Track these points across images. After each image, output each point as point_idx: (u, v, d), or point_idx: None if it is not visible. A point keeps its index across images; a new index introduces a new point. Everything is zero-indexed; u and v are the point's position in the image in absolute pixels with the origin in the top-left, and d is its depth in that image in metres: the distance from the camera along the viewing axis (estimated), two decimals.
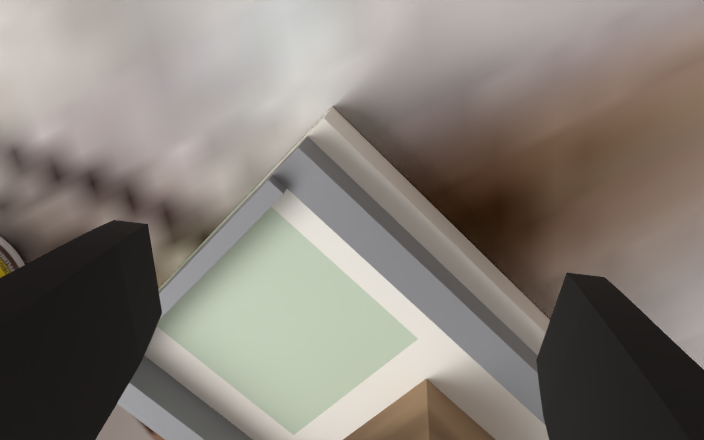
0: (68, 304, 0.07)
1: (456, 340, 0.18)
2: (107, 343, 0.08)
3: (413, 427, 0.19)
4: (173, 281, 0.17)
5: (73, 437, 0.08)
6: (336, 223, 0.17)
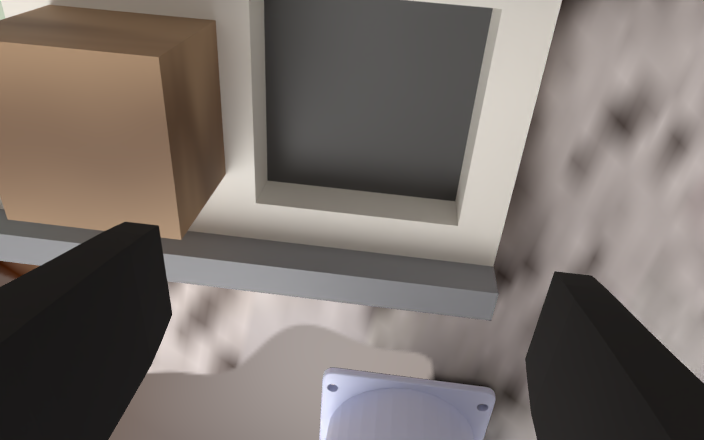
0: (82, 306, 0.07)
1: None
2: (119, 344, 0.08)
3: None
4: None
5: (86, 439, 0.08)
6: None
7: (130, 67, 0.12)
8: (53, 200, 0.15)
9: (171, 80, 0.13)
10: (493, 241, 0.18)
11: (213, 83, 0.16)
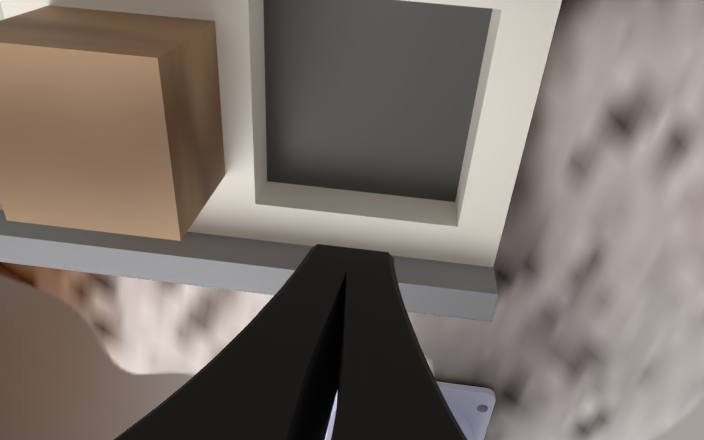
0: (326, 336, 0.07)
1: None
2: (331, 372, 0.08)
3: None
4: None
5: None
6: None
7: (128, 68, 0.12)
8: (52, 201, 0.15)
9: (170, 80, 0.13)
10: (493, 242, 0.18)
11: (212, 84, 0.16)
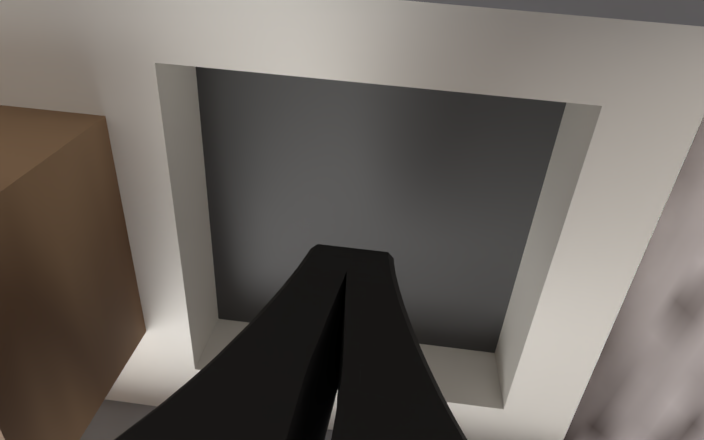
0: (326, 336, 0.07)
1: None
2: (331, 372, 0.08)
3: None
4: None
5: None
6: None
7: None
8: None
9: None
10: (557, 430, 0.12)
11: (106, 217, 0.10)
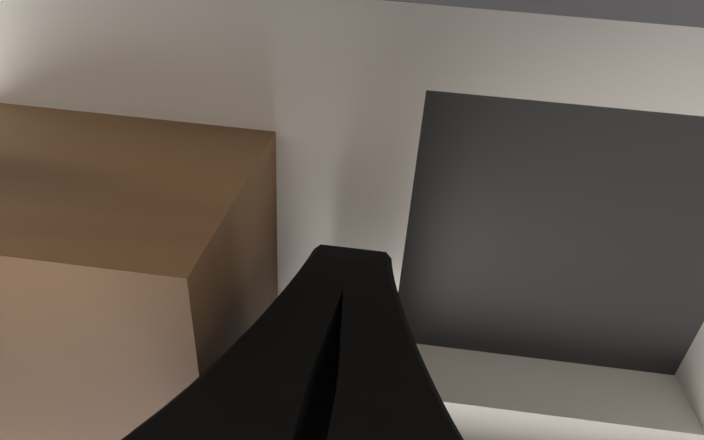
0: (331, 337, 0.07)
1: None
2: (335, 372, 0.08)
3: None
4: None
5: None
6: None
7: (125, 292, 0.06)
8: None
9: (209, 297, 0.06)
10: None
11: (269, 234, 0.09)
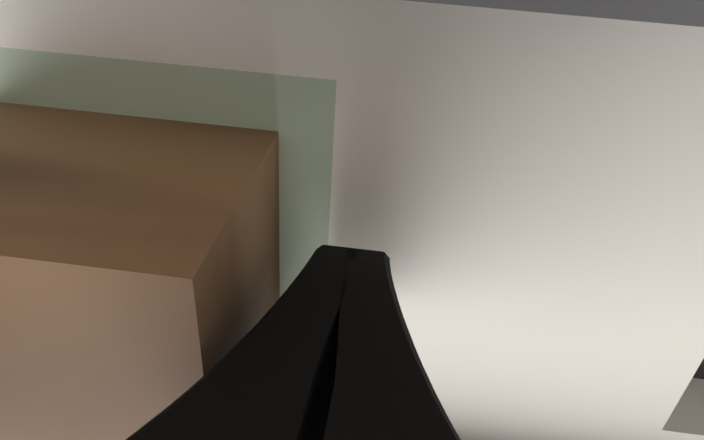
0: (333, 337, 0.07)
1: None
2: None
3: None
4: None
5: None
6: None
7: (129, 292, 0.06)
8: None
9: (213, 297, 0.06)
10: None
11: (272, 234, 0.09)
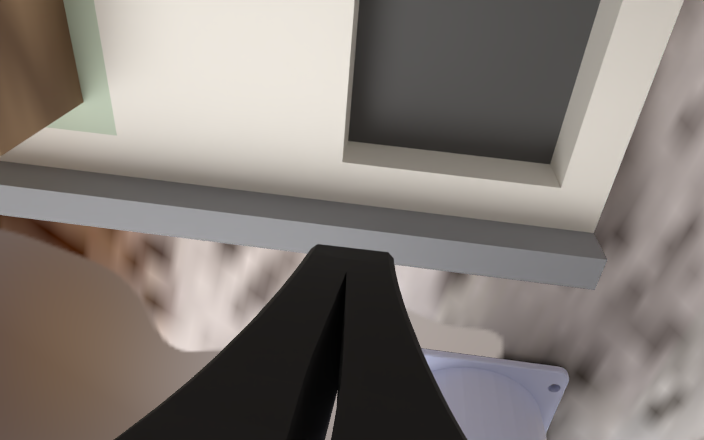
0: (327, 337, 0.07)
1: None
2: (331, 372, 0.08)
3: None
4: None
5: None
6: None
7: None
8: None
9: None
10: (597, 205, 0.17)
11: None
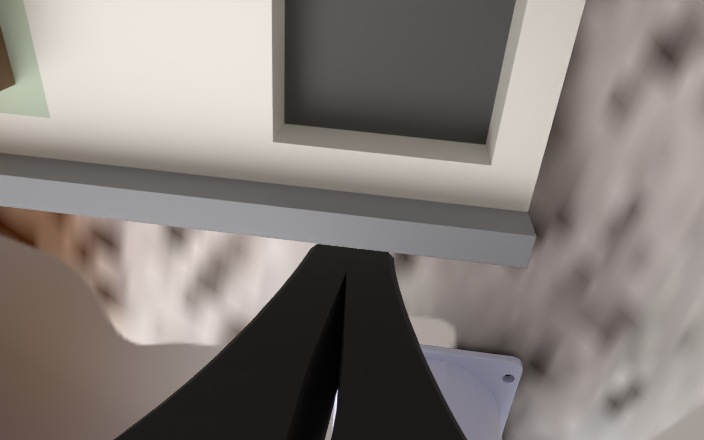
0: (326, 336, 0.07)
1: None
2: (331, 372, 0.08)
3: None
4: None
5: None
6: None
7: None
8: None
9: None
10: (529, 183, 0.17)
11: None
